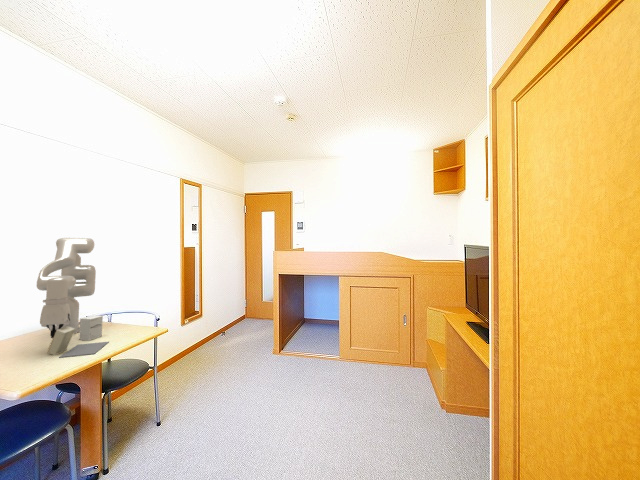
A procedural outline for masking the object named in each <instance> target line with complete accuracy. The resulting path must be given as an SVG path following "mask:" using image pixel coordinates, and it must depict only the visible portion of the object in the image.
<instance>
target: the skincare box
mask: <svg viewBox="0 0 640 480" xmlns="http://www.w3.org/2000/svg"><path fill="white" fill-rule="evenodd" d="M74 331H75V328H72V327H69V326H66V327H63V328H61V329H58V330H56V333H55V335H54V337H53V338H51V339H52V340H51V342H50V344H49V347H48V349H47V351H46V353H48V354H51V355H58V354H60V353H63V352H64V351H66V350H67V349H68V347H69V344H70V342H71V340H72V338H73V335H74V334H75V333H74ZM73 333H74V334H73Z"/></svg>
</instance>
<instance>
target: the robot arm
mask: <svg viewBox="0 0 640 480" xmlns="http://www.w3.org/2000/svg"><path fill="white" fill-rule="evenodd" d="M55 247H56V248H57V249H56V253H55V257H54V260H53V261H51V262H49V263H48V264H46V265H45V266H44V267H42V269H40V271H39V273H38V276H37V281H36V288H37V289H38V290H39V291H44V292H45V291H46V296H45V299H43V300H42V303H45V305H43V306H42V309H41V312H40V318H39V325H40V326H41V327H43V328H47V329H48V331H50V334H49V335H50V338H51V339H53V337H54V335H55V333H56V330H58V329H61V328H63V327H66V326H69V327H72V328H75V331H74V333H73V335H75V334H77V333H80V327H79V326H80V321H79V320H80V302H79V301H78V300H77V299H76V298H80V297H81V298H82V297H90V296H93V295H94V294H95V290H96V273H97V272H96V270H97V269H96V267H95V266H93V265H90V264H81V263H82V257H81V255H79V254H89V253H92V251H93V250H94V248H95V241H94V239H92V238H85V237H82V238H81V237H62V238H58V239H56V241H55ZM59 270H61V271H60V272H61V273H60V275H51V274H52V273H54V272H57V271H59ZM79 280H80V281H79ZM81 280H83V281H81ZM84 280H85V281H84Z"/></svg>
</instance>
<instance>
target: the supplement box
mask: <svg viewBox="0 0 640 480" xmlns="http://www.w3.org/2000/svg"><path fill="white" fill-rule="evenodd" d="M79 320H80V321H79V322H80V325H79V328H80V332H79V334H78V335H79V337H78V340H80V341H88V342H89V341H91V340H94V339H97V338H100V337H102V336H103V315H98V314H96V315H95V314H93V315H90V316H86V317H81V318H80V317H79Z"/></svg>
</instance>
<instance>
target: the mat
mask: <svg viewBox="0 0 640 480" xmlns="http://www.w3.org/2000/svg"><path fill="white" fill-rule="evenodd" d="M109 343H110V341H100V342H91V343H81V344H77V345H75V346H73V347H72V348H71V349H69V350H67V351H66V352H64V353H63V354H61V355H60V356H58V359H64V358H73V357H80V356H90V355H96V353H98V352H99V351H101V350H102V349H103V348H104V347H106V345H108V344H109Z"/></svg>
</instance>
